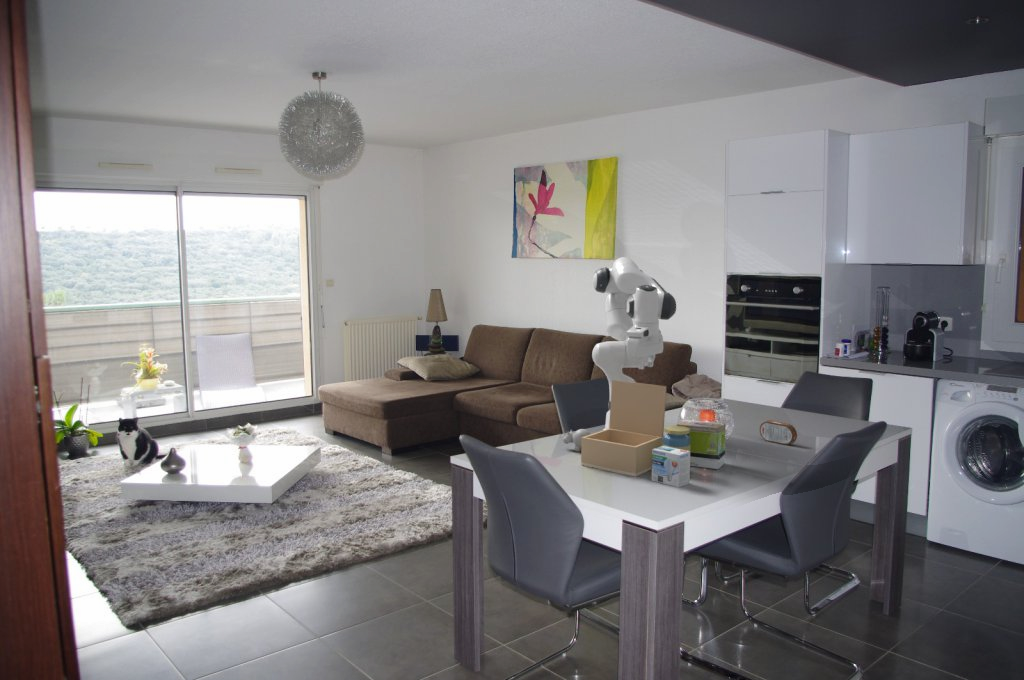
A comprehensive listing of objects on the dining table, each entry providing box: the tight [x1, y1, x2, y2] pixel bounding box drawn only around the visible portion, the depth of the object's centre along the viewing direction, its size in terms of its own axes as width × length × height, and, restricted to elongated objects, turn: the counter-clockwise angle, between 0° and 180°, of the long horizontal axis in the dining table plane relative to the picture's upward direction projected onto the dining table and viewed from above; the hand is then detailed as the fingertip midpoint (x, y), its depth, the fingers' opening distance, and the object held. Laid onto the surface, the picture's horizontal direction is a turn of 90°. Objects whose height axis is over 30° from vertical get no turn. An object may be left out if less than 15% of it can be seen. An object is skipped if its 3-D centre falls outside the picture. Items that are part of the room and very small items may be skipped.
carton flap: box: [609, 380, 667, 438], centre depth 268 cm, size 18×22×5 cm
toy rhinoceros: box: [562, 428, 592, 453], centre depth 281 cm, size 7×12×8 cm, turn 57°
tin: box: [759, 419, 798, 446], centre depth 290 cm, size 15×3×8 cm, turn 40°
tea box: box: [676, 419, 726, 470], centre depth 260 cm, size 15×10×15 cm
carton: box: [580, 429, 663, 477], centre depth 260 cm, size 18×22×10 cm
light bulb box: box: [651, 445, 691, 488], centre depth 240 cm, size 11×7×11 cm, turn 45°
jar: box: [662, 425, 691, 451], centre depth 251 cm, size 9×9×15 cm
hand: (645, 367), depth 269 cm, fingers open, 5 cm apart
